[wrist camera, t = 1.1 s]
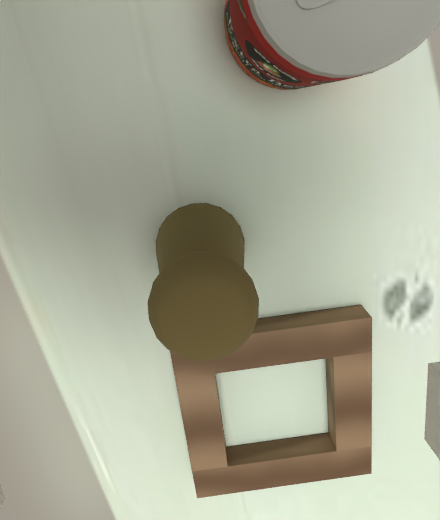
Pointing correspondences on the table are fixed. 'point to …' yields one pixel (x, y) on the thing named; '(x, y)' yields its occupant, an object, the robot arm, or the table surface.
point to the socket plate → (291, 449)
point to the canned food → (324, 37)
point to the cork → (202, 285)
